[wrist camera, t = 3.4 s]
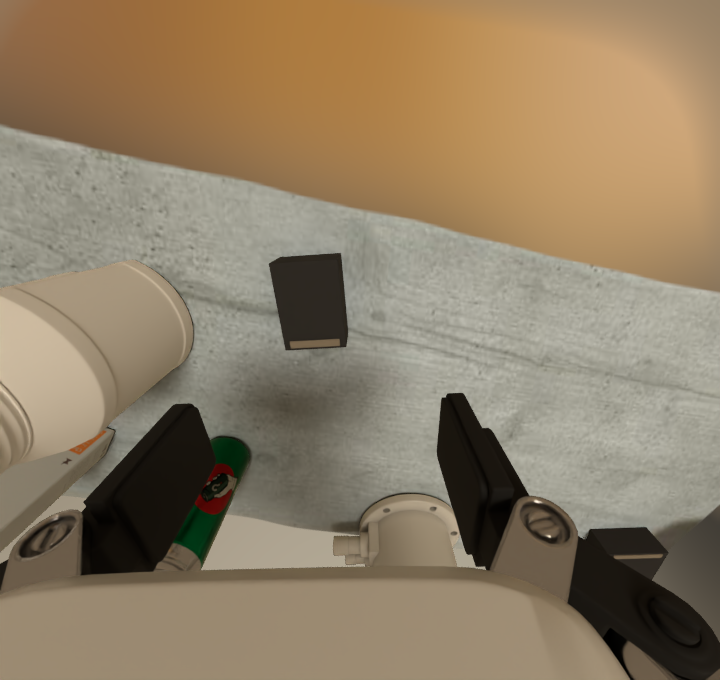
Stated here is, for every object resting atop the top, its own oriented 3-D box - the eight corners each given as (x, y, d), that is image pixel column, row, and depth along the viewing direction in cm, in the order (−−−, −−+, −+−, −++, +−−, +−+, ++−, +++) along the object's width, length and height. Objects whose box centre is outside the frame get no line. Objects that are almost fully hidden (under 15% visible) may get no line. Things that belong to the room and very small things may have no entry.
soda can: (204, 431, 31) (117, 551, 20) (251, 436, 31) (191, 558, 20) (207, 465, 33) (131, 591, 22) (252, 469, 33) (198, 596, 22)
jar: (99, 374, 28) (-148, 530, 15) (37, 278, 24) (-382, 368, 11) (210, 356, 27) (56, 505, 14) (163, 253, 23) (-118, 316, 10)
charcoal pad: (579, 556, 40) (595, 583, 37) (590, 529, 37) (609, 555, 34) (631, 555, 39) (652, 582, 37) (646, 527, 37) (669, 553, 34)
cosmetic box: (117, 429, 31) (-16, 548, 20) (106, 453, 33) (-23, 577, 22) (57, 402, 30) (-121, 515, 19) (49, 429, 31) (-120, 548, 20)
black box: (293, 335, 26) (285, 351, 23) (279, 257, 23) (268, 263, 21) (348, 332, 26) (346, 347, 23) (340, 252, 23) (337, 259, 20)
